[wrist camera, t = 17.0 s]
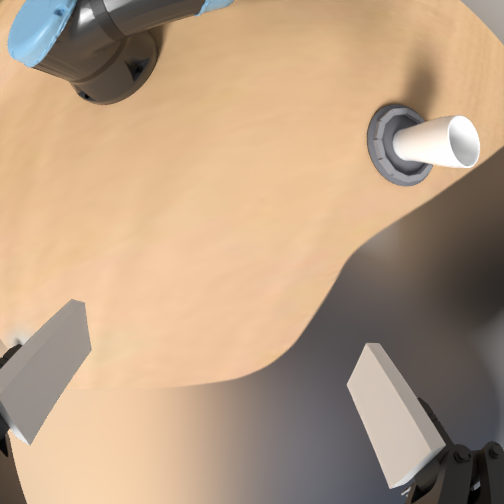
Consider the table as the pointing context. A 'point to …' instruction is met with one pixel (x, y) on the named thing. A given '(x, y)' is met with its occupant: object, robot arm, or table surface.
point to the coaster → (382, 145)
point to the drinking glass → (439, 142)
